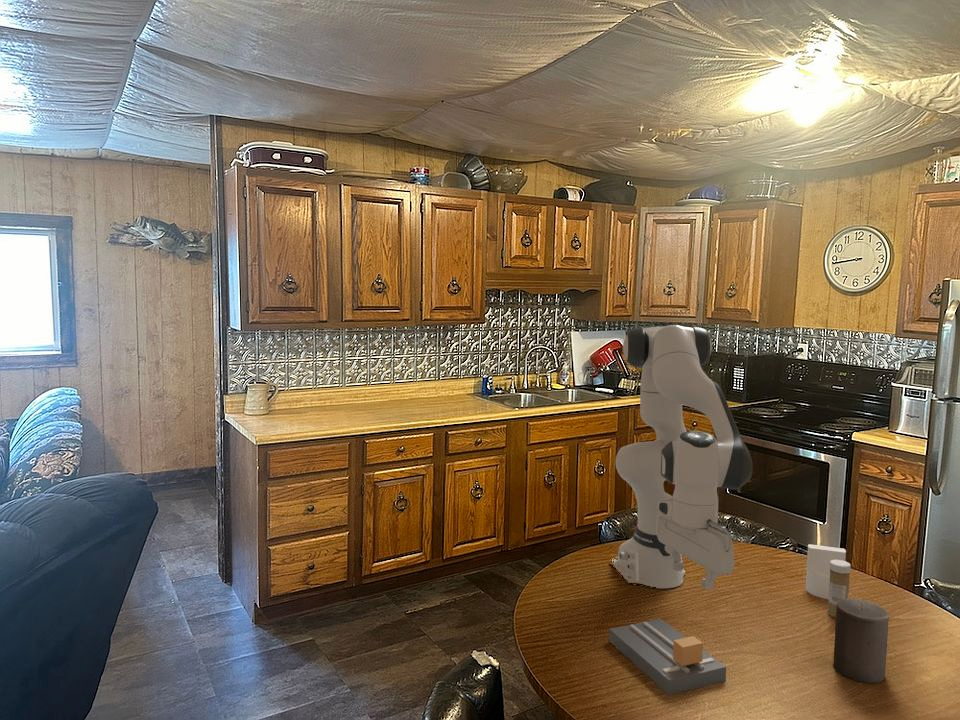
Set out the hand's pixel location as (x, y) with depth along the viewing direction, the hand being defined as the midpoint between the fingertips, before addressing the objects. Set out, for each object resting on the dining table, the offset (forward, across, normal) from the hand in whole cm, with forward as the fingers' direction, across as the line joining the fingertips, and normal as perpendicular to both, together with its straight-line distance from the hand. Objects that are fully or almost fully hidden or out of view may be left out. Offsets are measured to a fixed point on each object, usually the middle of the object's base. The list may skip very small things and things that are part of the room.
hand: (692, 578), depth 137 cm
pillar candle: (+21, -11, -35) cm, 42 cm away
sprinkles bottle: (+21, +9, -52) cm, 57 cm away
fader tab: (+18, -1, +1) cm, 18 cm away
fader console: (+21, +7, +1) cm, 22 cm away
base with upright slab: (+22, +20, -60) cm, 67 cm away
